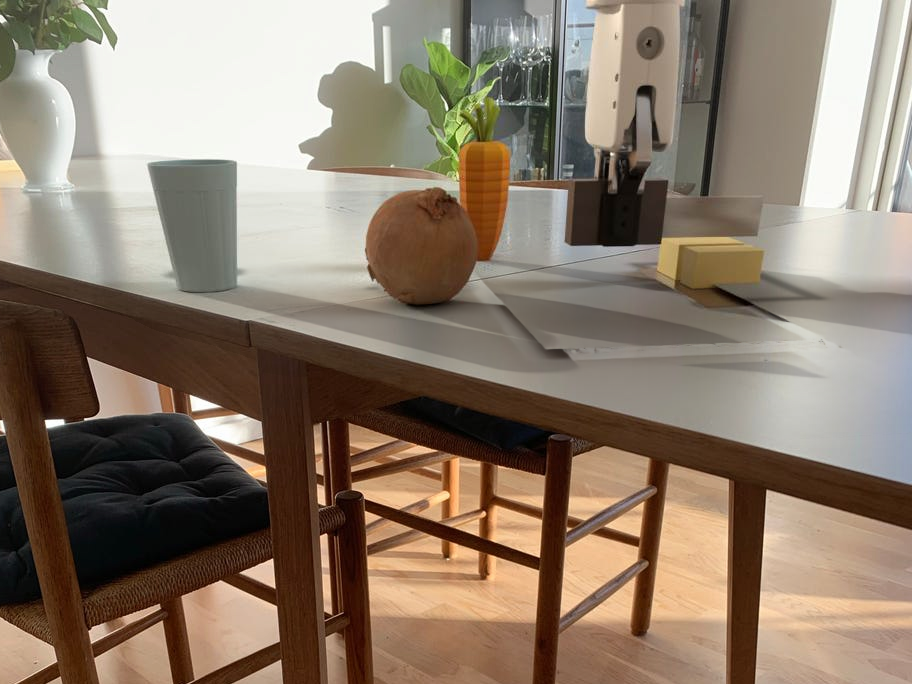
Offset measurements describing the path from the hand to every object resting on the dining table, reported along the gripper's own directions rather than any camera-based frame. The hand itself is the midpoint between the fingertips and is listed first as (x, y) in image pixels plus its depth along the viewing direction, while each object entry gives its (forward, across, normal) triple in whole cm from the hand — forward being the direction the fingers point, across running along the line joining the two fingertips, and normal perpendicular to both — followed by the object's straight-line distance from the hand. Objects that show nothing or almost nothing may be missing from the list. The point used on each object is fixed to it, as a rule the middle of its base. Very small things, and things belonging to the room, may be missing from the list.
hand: (613, 241), depth 82 cm
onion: (+5, -1, +17) cm, 17 cm away
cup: (+5, +9, +36) cm, 37 cm away
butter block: (+3, +3, -9) cm, 10 cm away
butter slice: (+3, -2, -9) cm, 10 cm away
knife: (0, 0, -5) cm, 5 cm away
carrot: (+5, +15, +9) cm, 18 cm away
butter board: (+4, -2, -9) cm, 10 cm away
